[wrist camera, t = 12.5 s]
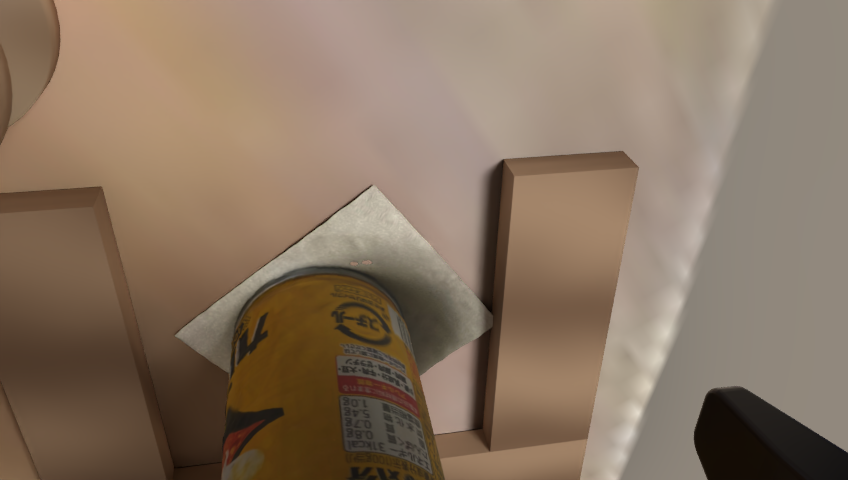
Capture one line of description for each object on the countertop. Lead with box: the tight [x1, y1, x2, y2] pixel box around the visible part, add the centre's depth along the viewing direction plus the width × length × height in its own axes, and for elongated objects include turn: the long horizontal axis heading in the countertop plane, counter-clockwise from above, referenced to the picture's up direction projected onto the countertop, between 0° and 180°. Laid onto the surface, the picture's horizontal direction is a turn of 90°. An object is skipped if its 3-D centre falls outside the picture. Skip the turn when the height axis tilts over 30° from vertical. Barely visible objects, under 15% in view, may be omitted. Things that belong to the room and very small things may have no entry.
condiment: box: [175, 185, 493, 480], centre depth 20 cm, size 7×8×12 cm
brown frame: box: [0, 151, 639, 480], centre depth 25 cm, size 16×20×1 cm
